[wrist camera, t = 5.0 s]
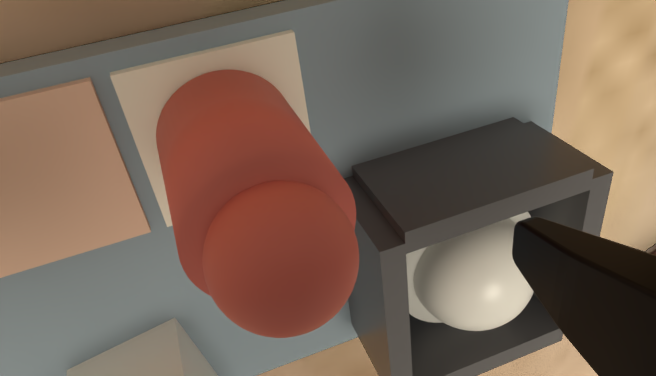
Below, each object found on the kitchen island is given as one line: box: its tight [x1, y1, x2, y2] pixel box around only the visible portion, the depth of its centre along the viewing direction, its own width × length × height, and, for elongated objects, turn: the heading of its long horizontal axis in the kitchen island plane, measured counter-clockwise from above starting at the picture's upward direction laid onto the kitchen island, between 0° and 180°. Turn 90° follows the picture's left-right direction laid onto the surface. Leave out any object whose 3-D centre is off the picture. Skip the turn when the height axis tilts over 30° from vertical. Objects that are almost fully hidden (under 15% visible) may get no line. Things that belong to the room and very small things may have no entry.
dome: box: [406, 212, 534, 331], centre depth 19 cm, size 6×6×4 cm
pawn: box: [156, 70, 359, 338], centre depth 13 cm, size 4×4×7 cm
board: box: [0, 0, 569, 376], centre depth 18 cm, size 14×26×2 cm, turn 97°
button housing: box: [344, 117, 613, 376], centre depth 19 cm, size 8×8×4 cm
